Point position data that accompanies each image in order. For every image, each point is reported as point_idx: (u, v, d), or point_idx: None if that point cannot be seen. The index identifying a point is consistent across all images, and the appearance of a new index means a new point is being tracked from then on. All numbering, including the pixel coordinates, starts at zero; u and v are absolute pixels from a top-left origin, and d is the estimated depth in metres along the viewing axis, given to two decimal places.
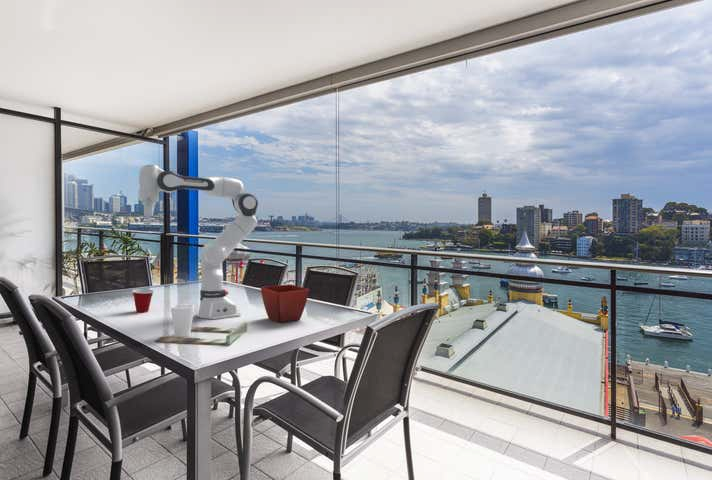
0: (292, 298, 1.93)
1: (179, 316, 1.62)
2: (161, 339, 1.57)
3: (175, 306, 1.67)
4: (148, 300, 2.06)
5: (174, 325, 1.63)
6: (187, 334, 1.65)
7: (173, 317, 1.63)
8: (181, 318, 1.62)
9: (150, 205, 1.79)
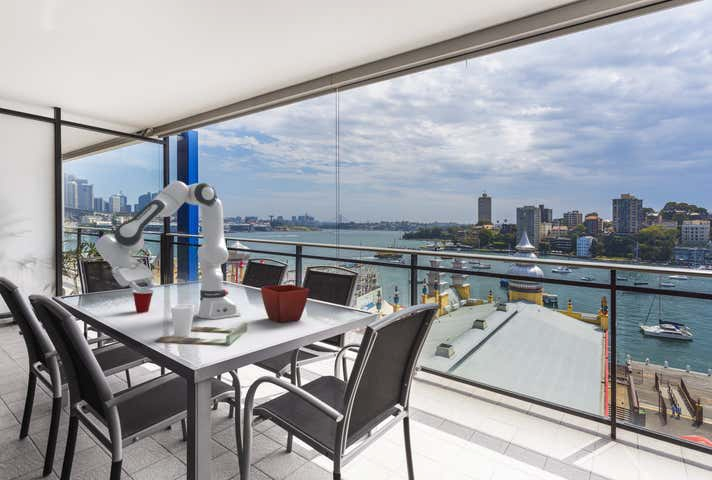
0: (292, 298, 1.93)
1: (179, 316, 1.62)
2: (161, 339, 1.57)
3: (175, 306, 1.67)
4: (148, 300, 2.06)
5: (174, 325, 1.63)
6: (187, 334, 1.65)
7: (173, 317, 1.63)
8: (181, 318, 1.62)
9: (118, 274, 1.57)
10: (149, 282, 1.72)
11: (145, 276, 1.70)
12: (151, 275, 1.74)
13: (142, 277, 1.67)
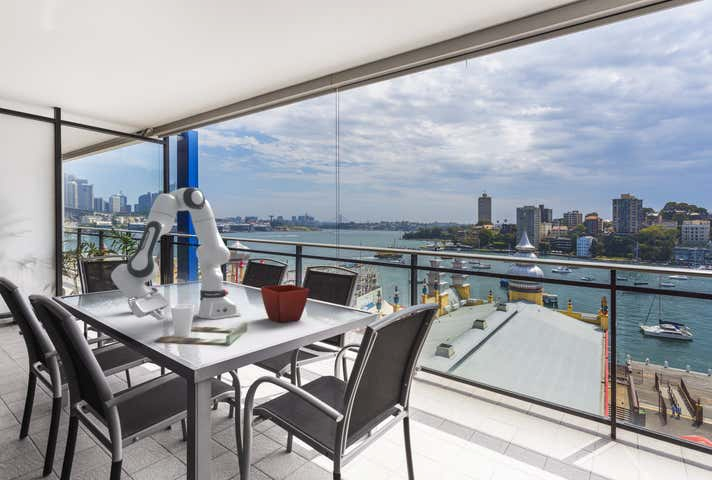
0: (292, 298, 1.93)
1: (179, 316, 1.62)
2: (161, 339, 1.57)
3: (175, 306, 1.67)
4: None
5: (174, 325, 1.63)
6: (187, 334, 1.65)
7: (173, 317, 1.63)
8: (181, 318, 1.62)
9: (135, 305, 1.57)
10: (159, 313, 1.68)
11: (160, 305, 1.70)
12: (166, 303, 1.74)
13: (157, 307, 1.67)
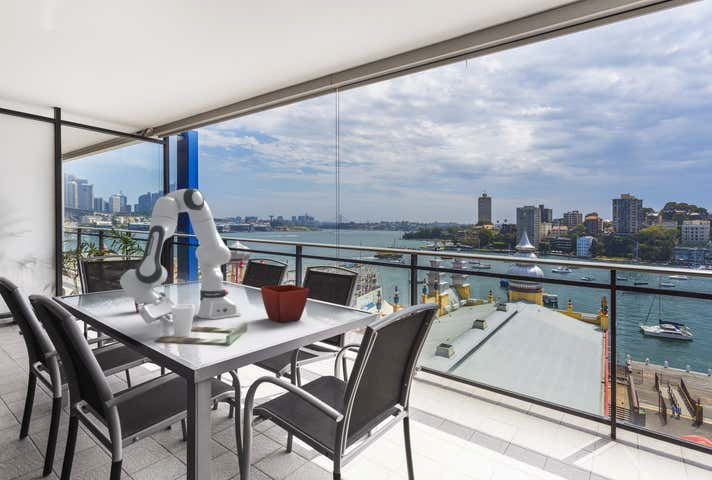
0: (292, 298, 1.93)
1: (179, 316, 1.62)
2: (161, 339, 1.57)
3: (175, 306, 1.67)
4: None
5: (174, 325, 1.63)
6: (187, 334, 1.65)
7: (173, 317, 1.63)
8: (181, 318, 1.62)
9: (144, 311, 1.57)
10: (168, 318, 1.68)
11: (169, 310, 1.70)
12: None
13: (166, 312, 1.67)
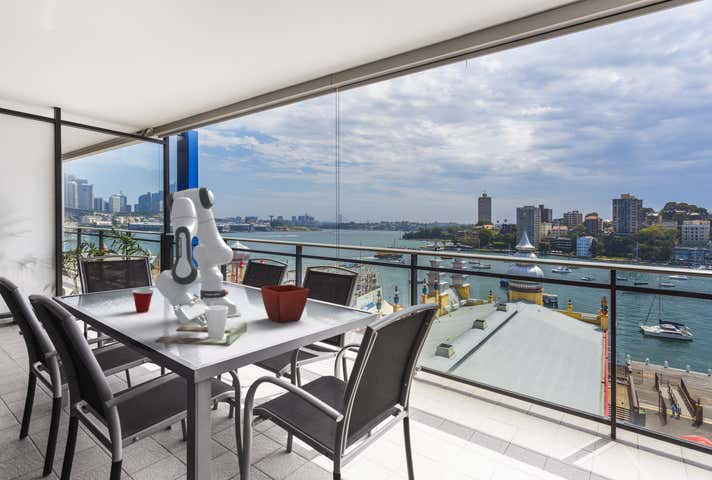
0: (292, 298, 1.93)
1: (213, 318, 1.60)
2: (161, 339, 1.57)
3: (209, 308, 1.66)
4: (148, 300, 2.06)
5: (208, 327, 1.62)
6: (220, 336, 1.63)
7: (207, 319, 1.62)
8: (214, 320, 1.61)
9: (180, 312, 1.56)
10: (202, 319, 1.67)
11: (203, 312, 1.69)
12: None
13: (200, 313, 1.66)
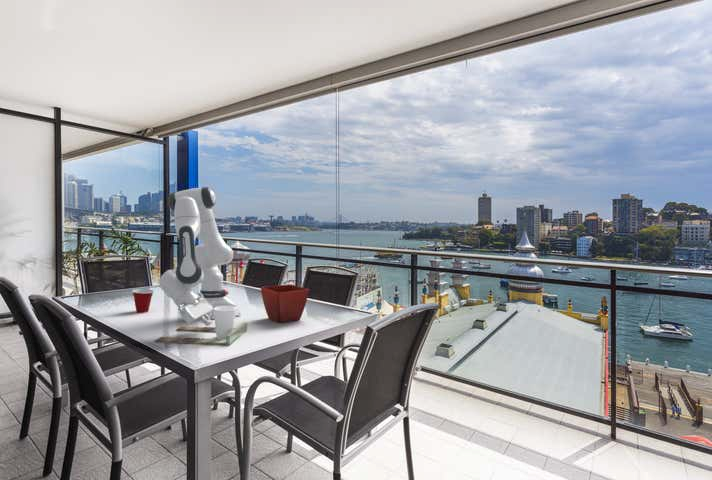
0: (292, 298, 1.93)
1: (221, 318, 1.60)
2: (161, 339, 1.57)
3: (218, 308, 1.66)
4: (148, 300, 2.06)
5: (216, 327, 1.62)
6: None
7: (215, 319, 1.62)
8: (223, 320, 1.61)
9: (185, 312, 1.56)
10: (207, 318, 1.67)
11: (207, 310, 1.69)
12: (211, 308, 1.74)
13: (205, 312, 1.67)
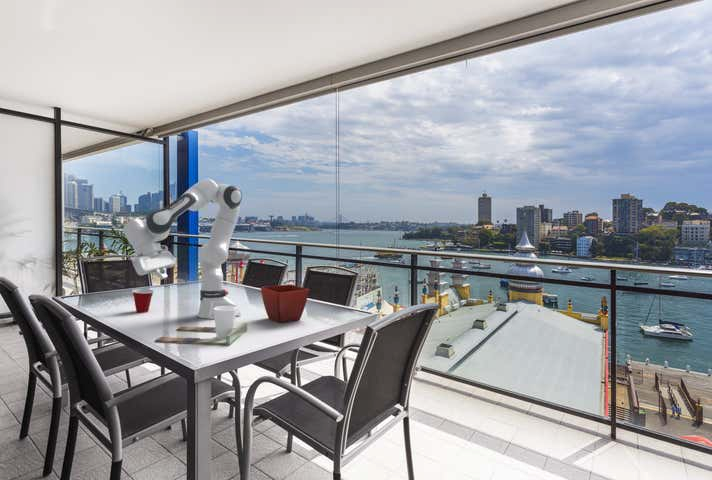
0: (292, 298, 1.93)
1: (221, 318, 1.60)
2: (161, 339, 1.57)
3: (218, 308, 1.66)
4: (148, 300, 2.06)
5: (216, 327, 1.62)
6: None
7: (215, 319, 1.62)
8: (223, 320, 1.61)
9: (137, 263, 1.59)
10: (163, 272, 1.69)
11: (166, 264, 1.71)
12: (173, 263, 1.75)
13: (162, 266, 1.68)
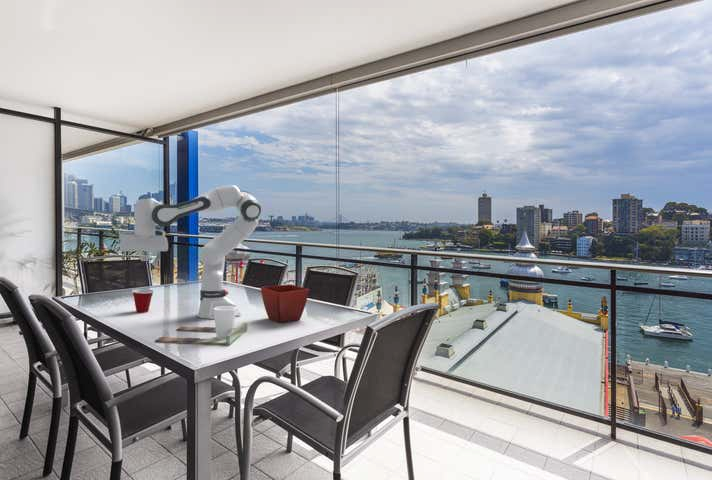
0: (292, 298, 1.93)
1: (221, 318, 1.60)
2: (161, 339, 1.57)
3: (218, 308, 1.66)
4: (148, 300, 2.06)
5: (216, 327, 1.62)
6: None
7: (215, 319, 1.62)
8: (223, 320, 1.61)
9: (120, 240, 1.73)
10: (147, 255, 1.79)
11: (152, 249, 1.79)
12: (163, 249, 1.81)
13: (146, 250, 1.77)
